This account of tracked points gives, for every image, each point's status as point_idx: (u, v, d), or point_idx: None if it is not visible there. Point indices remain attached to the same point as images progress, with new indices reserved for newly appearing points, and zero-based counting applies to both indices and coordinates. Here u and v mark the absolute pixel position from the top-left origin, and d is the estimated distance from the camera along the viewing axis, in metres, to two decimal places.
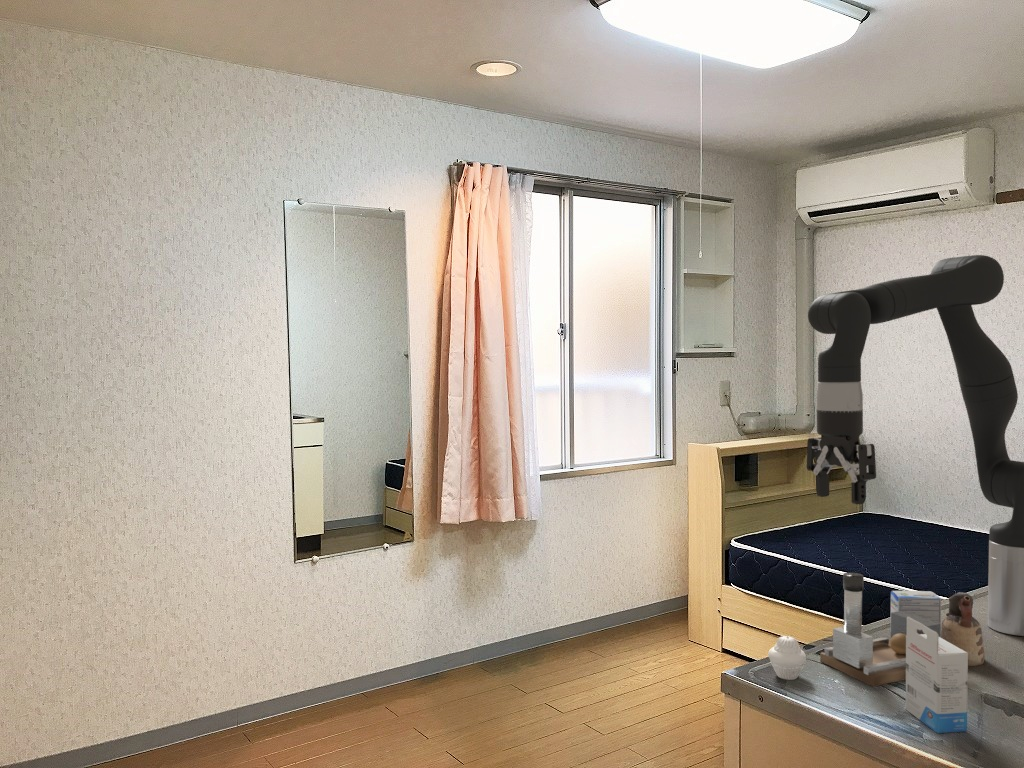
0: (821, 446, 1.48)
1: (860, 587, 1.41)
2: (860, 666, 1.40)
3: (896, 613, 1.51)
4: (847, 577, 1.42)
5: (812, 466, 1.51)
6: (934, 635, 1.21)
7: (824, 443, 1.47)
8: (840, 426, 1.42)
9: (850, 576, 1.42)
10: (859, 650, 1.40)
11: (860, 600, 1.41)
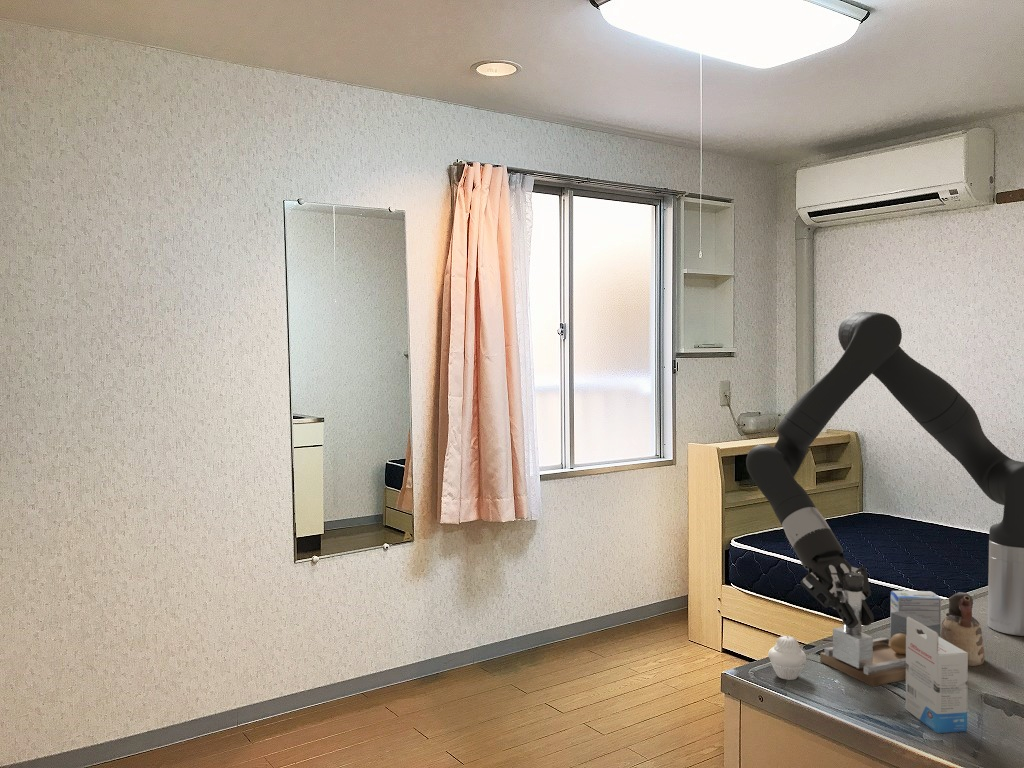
0: None
1: (860, 587, 1.41)
2: (860, 666, 1.40)
3: (896, 613, 1.51)
4: (847, 577, 1.42)
5: None
6: (933, 635, 1.21)
7: None
8: (800, 560, 1.50)
9: (850, 576, 1.42)
10: (859, 650, 1.40)
11: (860, 600, 1.41)
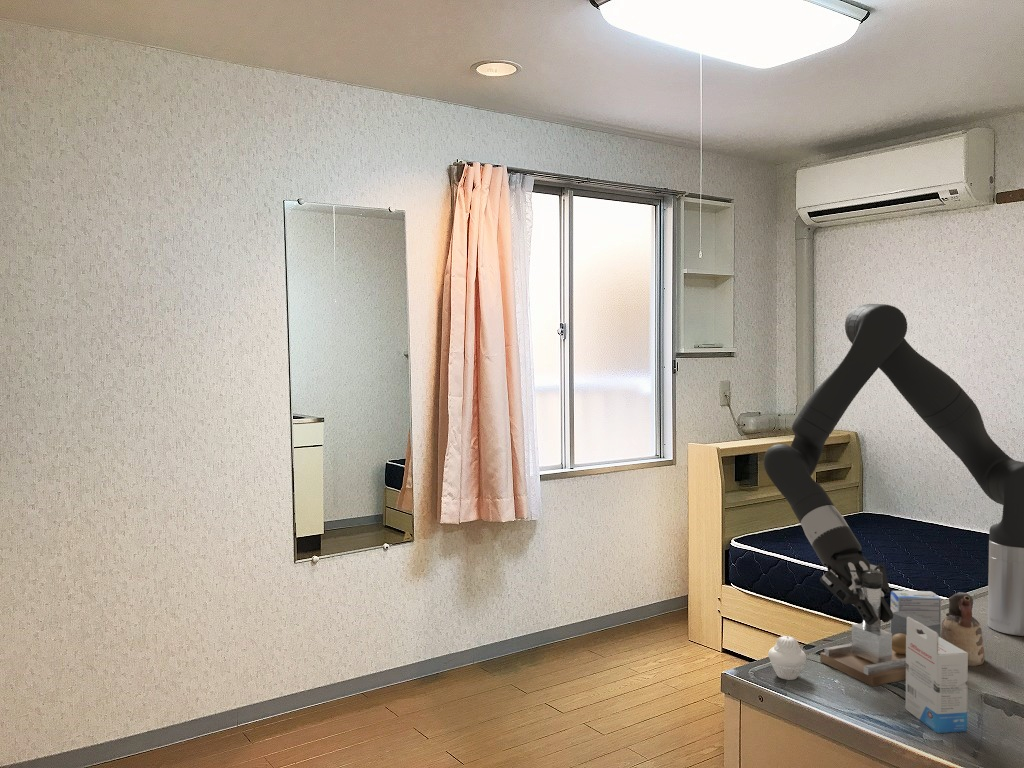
0: None
1: (879, 584, 1.43)
2: (879, 662, 1.41)
3: (896, 613, 1.51)
4: (866, 574, 1.43)
5: None
6: (934, 635, 1.21)
7: None
8: (819, 558, 1.52)
9: (869, 573, 1.43)
10: (878, 646, 1.41)
11: (879, 597, 1.43)
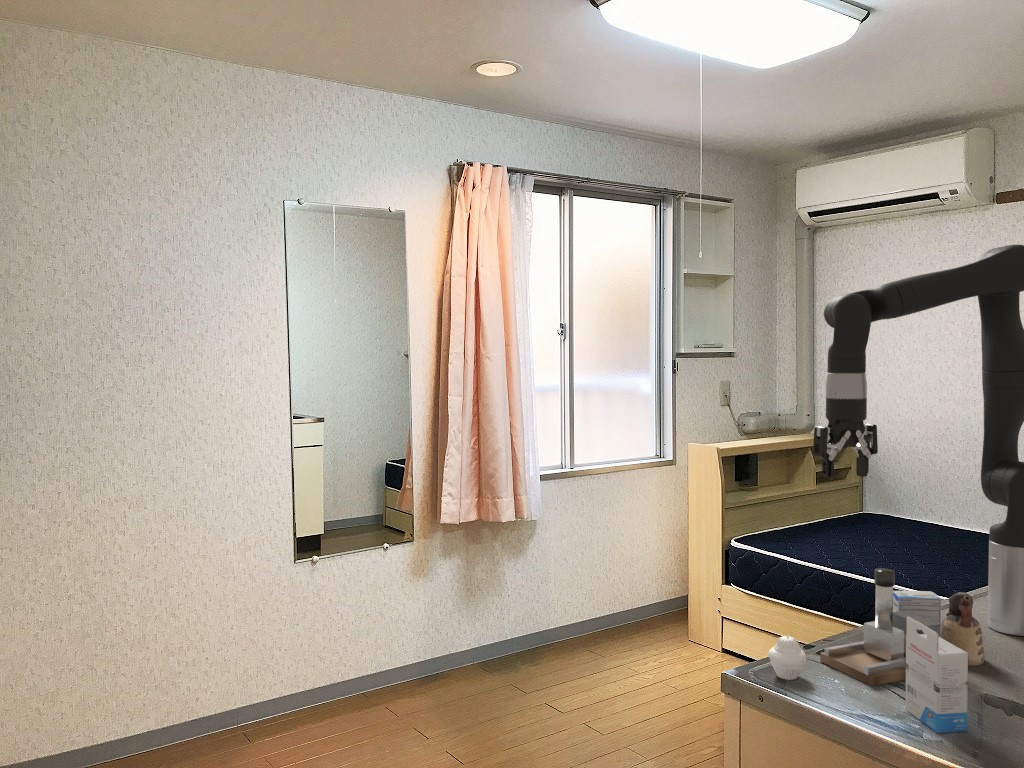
0: None
1: (891, 582, 1.44)
2: None
3: (896, 613, 1.51)
4: (879, 572, 1.44)
5: None
6: (934, 635, 1.21)
7: None
8: None
9: (881, 571, 1.44)
10: (890, 644, 1.42)
11: (891, 595, 1.44)
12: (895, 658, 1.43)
